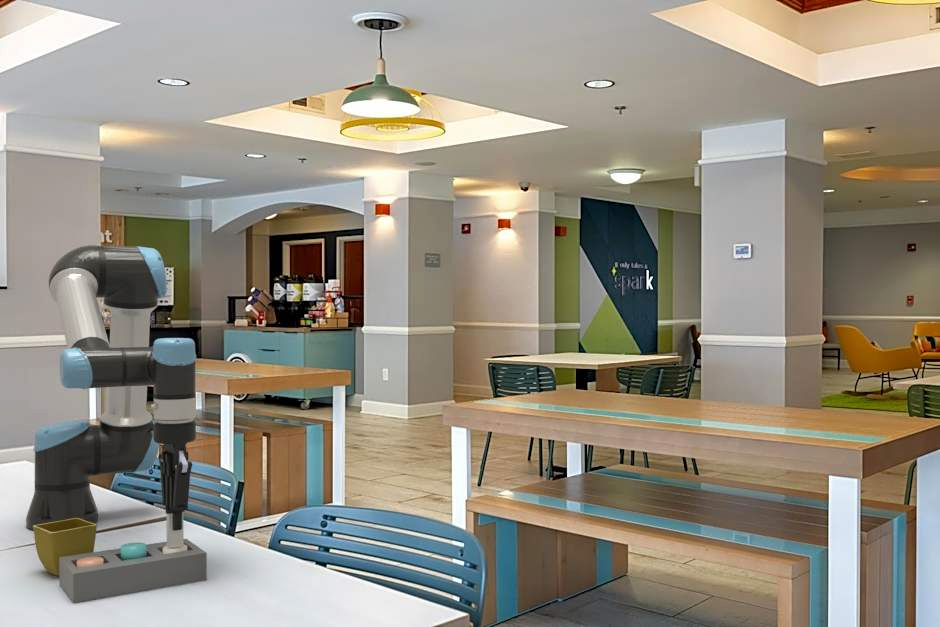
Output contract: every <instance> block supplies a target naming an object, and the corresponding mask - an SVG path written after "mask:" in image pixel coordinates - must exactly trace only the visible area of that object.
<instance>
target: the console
mask: <svg viewBox="0 0 940 627" xmlns="http://www.w3.org/2000/svg"><path fill="white" fill-rule="evenodd" d="M183 539H184V545H187V551H182V552H175V553H169V554H163V547H165V546H167V541H160V542H154V543H148V544H147V543H146V557H143V558H137V559H130V560H124V561H121V547H120V548H114V549H107V550H106V549H105V550H101V551H100V550H99V551H95V552H94V551H93V552H92V553H85V554H79V555H72V556H65V557H59V576H58V577H59V578H58V580H59V581H58V582H59V586H60V588H61V589H62V590H63V591H64V593H65V594H66V595H67V597H68V598H69V599H70V600H71V602H72V603H73V604H77V603H82V602H86V601H87V602H88V601H93V600H99V599H104V598H110V597H111V598H112V597H116V596H120V595H121V596H122V595H128V594H132V593H133V594H134V593H139V592H143V591H149V590H156V589H162V588H168V587H173V586H178V585H184V584H189V583H196V582H202V581H207V578H208V576H207V574H208V573H207V572H208V571H207V568H208V567H207V563H208V562H207V561H208V560H207V559H208V555H207V554H208V553H207V552H206V551H205V550H204V549H202V548H201V547H199V546H197V545H196V544H195V543H193V542H192V541H190V539H188V538H183ZM86 557H102V558H103V559H104V564H98V565H91V566H85V567H79V568H77V560H79V559H82V558H86Z"/></svg>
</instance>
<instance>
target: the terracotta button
mask: <svg viewBox="0 0 940 627" xmlns="http://www.w3.org/2000/svg"><path fill="white" fill-rule="evenodd" d="M98 564H104V559H103V558H102V557H86V558H82V559H79V560H77V568H79V567H85V566H91V565H98Z"/></svg>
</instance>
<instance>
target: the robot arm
mask: <svg viewBox="0 0 940 627" xmlns="http://www.w3.org/2000/svg"><path fill="white" fill-rule="evenodd" d="M166 274H167V273H166V270H165V263H164V261H163V258H162V255H161V252H159V251H158V250H157V249H156V248H153V247H144V246H139V245H136V246H135V245H133V246H131V245H129V246H127V245H126V246H125V245H123V246H121V245H93V244H92V245H84V246H83V245H82V246H79V247H76V248H74V249H72V250H70V251H69V252H67V253H65V254H64V255H63V256H61V257H60V258H59V259H58V260H57V261H56V263H55V264H54V265H53V267H52V269H51V271H50V274H49V276H48V288H49V289H48V290H49V294H50V296H51V298H52V299H53V300H54V301H55V302H56V304H57V306H58V310H59V315H60V320H61V325H62V330H63V333H64V339H65V342H66V347H67V348H65V349H63V350H62V351H61V352H60V356H59V376H60V378H59V379H60V383H61V385H62V386H63V387H64V388H65V389H83V390H88V389H96V388H97V389H102V388H107V410H106V411H104V412H103V413H102V414H101V415H100V417H99V418H100V419H99V424H97V425H96V424H94V425H91V422H90V420H89V419H85V418H84V419H83V418H81V419H71V420H65V421H59V422H58V421H57V422H55V423H51V424H47V425H43V426H42V427H40V428H39V429H37V430H36V432H35V434H34V447H33V452H34V492H33V496H32V499H31V501H30V505H29V509H28V510H27V513H26V517H25V518H26V519H25V525H26V526H25V527H26V529H27V530H30V531H31V530H32V531H33V525H39V524H44V523H50V522H56V521H62V520H67V519H73V518H80V519H83V520H85V521H88V522H91V523H94V524H96V523H98V521H99V510H98V506H97V505H96V501H95V499H94V496H93V493H92V491H91V487H90V486H91V485H90V484H91V483H90V480H91V479H90V478H91V477H92V476H102V475H111V474H112V475H113V474H128V473H131V474H134V473H137V472H142V471H147V470H149V469H151V468H152V467H153V465H154V464H155V463H156V460H157V458H158V462H159V470H160V485H161V497H162V506H164V508H165V514H166V542H167V547H168V548H174V547H181V546H184V539H185V538H184V512H185V511H188V507H189V506H188V505H189V498H190V496H189V495H190V494H189V492H190V482H191V472H192V467H193V462H192V461H191V460H190V461H189V452H188V451H187V446H186V445H187V444H188V443H191V442H194V441H195V440H196V434H197V433H196V430H197V429H196V426H197V425H196V424H197V423H196V422H195V421H194V419H195V418H196V417H197V396H196V360H197V354H196V343H195V341H194V339H192V338H189V337H186V338H185V337H165V338H163V337H162V338H157V339H155V340H154V342H153V345H152V346H150V327H151V326H150V325H151V313H152V312H153V311H154V310H155V309H156V308H158V302H159V300H158V299H162V298H164V297H166V294H167V276H166ZM98 298H101V299H102V298H103V306H105V308H107V309H108V310H109V311H110V324H109V325H110V326H109V328H110V329H109V338H108V335H107V332H106V327H105V324H104V321H103V317H102V314H101V310H100V306H99V303H98V300H97V299H98ZM148 386H153V403H152V404H151V405H150V409H151V410H153V415H152V414H151V413H150V412H149V411H148V410H147V400H148V398H147V397H148ZM154 420H155V421H154ZM160 445H163V447H162V451H161V453H159V449H160V448H159V447H160ZM158 453H159V454H158Z"/></svg>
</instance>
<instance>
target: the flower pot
mask: <svg viewBox="0 0 940 627" xmlns="http://www.w3.org/2000/svg"><path fill="white" fill-rule="evenodd" d="M97 527H98V524H96V523H91V522H88V521H85V520H83V519H80V518H73V519H67V520H62V521H56V522H50V523H44V524H39V525H33V530H32V531H33V536H34V537H33V539H34V542H35V550H36V553H37V557H38V558H39V560H40V563H41V565H42V566H43V568H44V570H46V571H47V572H48V573H50V574H53V575H54V576H57V577H59V557H65V556H72V555H79V554H85V553H92V552H94V550H95V543H96V537H97V536H96V535H97Z"/></svg>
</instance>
